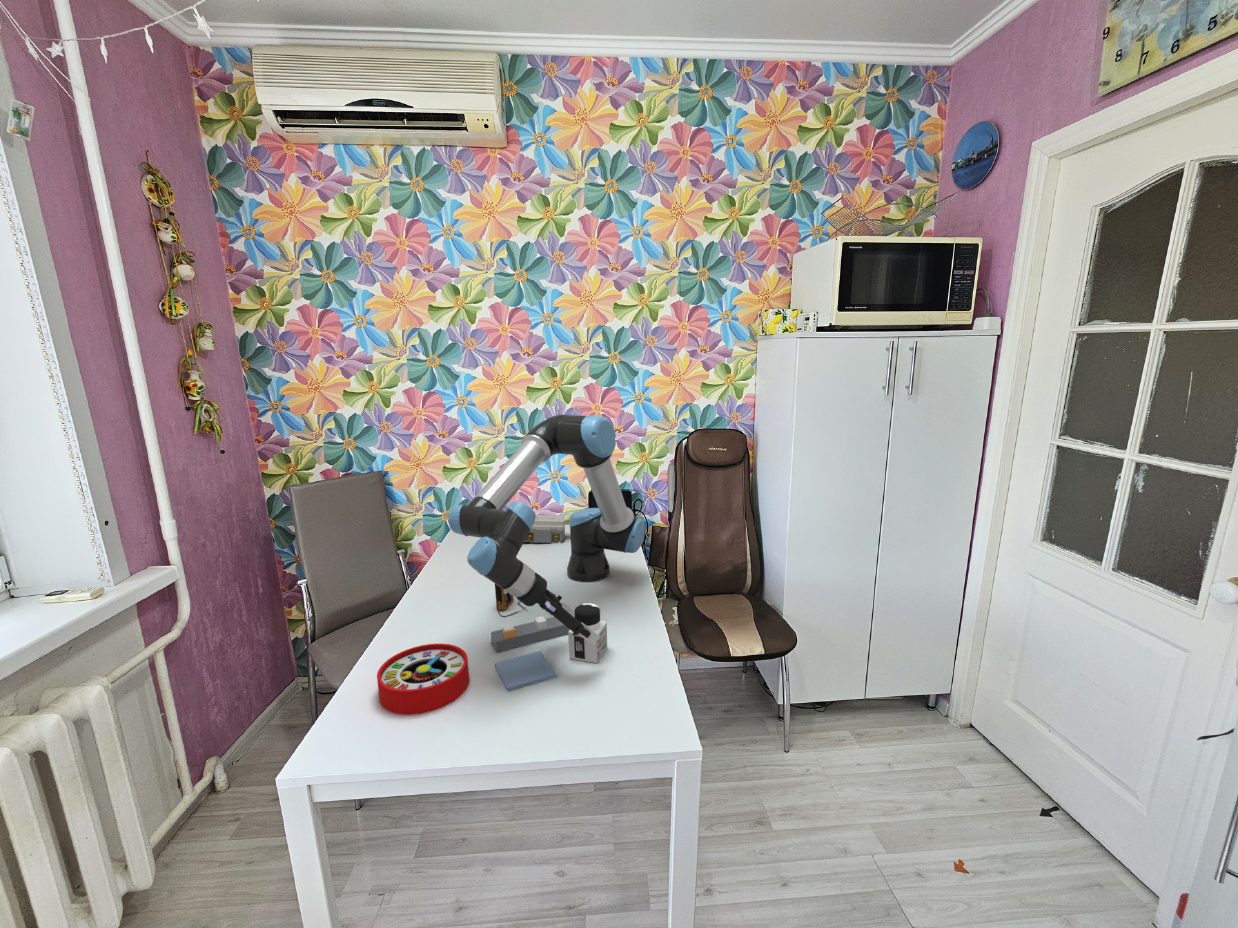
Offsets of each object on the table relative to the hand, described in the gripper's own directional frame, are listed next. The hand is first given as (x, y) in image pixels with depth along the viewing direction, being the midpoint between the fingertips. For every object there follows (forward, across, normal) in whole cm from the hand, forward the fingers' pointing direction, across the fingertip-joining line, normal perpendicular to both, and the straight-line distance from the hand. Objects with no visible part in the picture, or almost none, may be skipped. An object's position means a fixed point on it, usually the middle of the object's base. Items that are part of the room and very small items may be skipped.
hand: (585, 628), depth 138 cm
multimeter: (0, -36, -11) cm, 38 cm away
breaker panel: (0, -15, -10) cm, 19 cm away
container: (+6, 0, -5) cm, 8 cm away
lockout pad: (-6, 0, -17) cm, 18 cm away
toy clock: (-22, -5, -33) cm, 40 cm away
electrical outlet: (+19, -93, +8) cm, 95 cm away
